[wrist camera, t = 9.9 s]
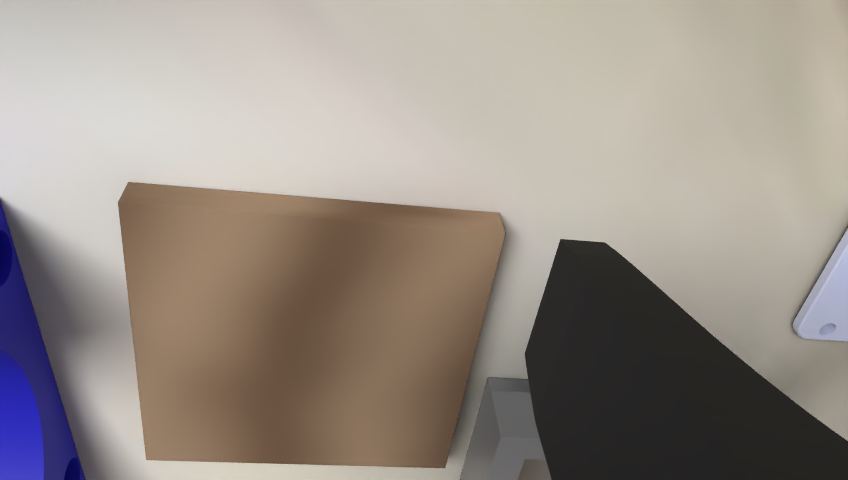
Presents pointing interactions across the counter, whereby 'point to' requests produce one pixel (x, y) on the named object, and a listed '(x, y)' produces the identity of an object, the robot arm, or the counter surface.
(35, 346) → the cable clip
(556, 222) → the counter surface
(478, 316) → the brown square tile
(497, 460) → the parts tray
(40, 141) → the counter surface
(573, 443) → the robot arm
